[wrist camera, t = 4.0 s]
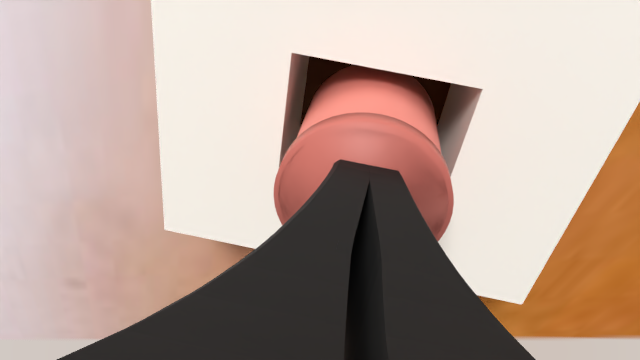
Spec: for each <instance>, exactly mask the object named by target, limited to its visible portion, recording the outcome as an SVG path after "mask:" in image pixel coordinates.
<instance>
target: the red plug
mask: <svg viewBox="0 0 640 360" xmlns="http://www.w3.org/2000/svg"><path fill="white" fill-rule="evenodd" d="M340 159H342V160H347V161H352V162H357V163H362V164H367V165H372V166H377V167H382V168H387V169H392V170H397V171H399V172H400V174H401V175H402V177H403V179H404V181H405V183H406V185H407V187H408V189H409V191H410V193H411V195H412V197H413V199H414V201H415V203H416V205H417V207H418V209H419V211H420V212H421V214H422V216H423V218H424V220H425V221H426V223H427V225H428V226H429V228H430V230H431V231H432V233H433V235H434V236H435V238H436V240H437V241H439V240H440V239H441V237H442V236H443V234H444V233H445V231H446V229H447V227H448V225H449V223H450V220H451V217H452V213H453V205H454V196H453V189H452V183H451V178H450V173H449V169H448V167H447V164H446V161H445V159H444V157H443V156H442V154H441V148H440V142H439V136H438V130H437V124H436V118H435V112H434V107H433V104H432V102H431V99H430V97H429V95H428V93H427V92H426V90H425V89H424V88H423V86H422V85H421V84H420V83H419V82H418V81H417V80H416V79H415V78H413V77H412V76H411V75H407V74H401V73H396V72H391V71H386V70H380V69H375V68H370V67H365V66H359V65H352V66H349V67H346V68H344V69H341V70H340V71H338V72H336V73H334V74H333V75H332V76H330V77H329V78H328V79H326V80H325V81H324V82H323V83H322V84H321V86H320V87H319V88H318V90H317V91H316V93H315V95H314V96H313V98H312V101H311V103H310V106H309V108H308V111H307V113H306V116H305V118H304V120H303V123H302V125H301V128H300V130H299V133H298V135H297V138H296V139H295V140H294V142H293V143H292V144H291V145H290V147H289V148H288V150H287V152H286V154H285V155H284V157H283V160H282V162H281V165H280V167H279V169H278V172H277V175H276V178H275V183H274V204H275V208H276V212H277V215H278V217H279V220H280V222H281V224H282V225H283V224H284V223H286V222H287V221H288V220H289V219H290V218H291V217H292V216H293V215H294V214H295V213H296V212H297V211H298V210H299V209H300V208H301V207H302V206H303V204H304V203H305V202H306V201H307V200H308V199H309V198H310V196H311V195H312V194H313V193H314V192H315V191H316V190H317V188H318V187H319V186H320V184H321V183H322V182H323V181H324V179H325V178H326V176H327V175H328V173H329V172H330V170H331V168H332V167H333V164H334V163H335V162H336V161H338V160H340Z"/></svg>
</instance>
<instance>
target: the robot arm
mask: <svg viewBox="0 0 640 360" xmlns="http://www.w3.org/2000/svg"><path fill="white" fill-rule="evenodd" d="M57 360H535V359H534V358H533V357H532V356H531V354H530V353H529V352H527V351H526V350H525V348H524V347H523V346H522V345H520V343H519V342H518V341H517V340H516V339H515V338H514V337H513V336H512V335H511V334H510V333H509V332H508V331H507V330H506V329H505V328H504V326H503V325H502V324H501V323H500V322H499V321H498V320H497V319H496V318H495V317H494V315H493V314H492V313H491V312H490V311H489V310H488V308H487V307H486V306H485V305H484V304H483V302H482V301H481V300H480V299H479V298H478V296H477V295H476V294H475V293H474V292H473V290H472V289H471V288H470V287H469V285H468V284H467V283H466V282H465V280H464V279H463V278H462V276H461V275H460V274H459V272H458V271H457V270H456V268H455V267H454V265H453V264H452V262H451V261H450V260H449V258H448V257H447V255H446V254H445V252H444V251H443V249H442V247H441V246H440V244H439V243H438V241H437V240H436V238H435V236H434V235H433V233H432V231H431V230H430V228H429V226H428V225H427V223H426V221H425V220H424V218H423V216H422V214H421V212H420V211H419V209H418V207H417V205H416V203H415V201H414V199H413V197H412V195H411V193H410V191H409V189H408V187H407V185H406V183H405V181H404V179H403V177H402V175H401V174H400V172H399V171H397V170H392V169H387V168H382V167H377V166H372V165H367V164H362V163H357V162H352V161H347V160H342V159H340V160H338V161H336V162H335V163H334V164H333V167H332V168H331V170H330V172H329V173H328V175H327V176H326V178H325V179H324V181H323V182H322V183H321V184H320V186H319V187H318V188H317V190H316V191H315V192H314V193H313V194H312V195H311V196H310V198H309V199H308V200H307V201H306V202H305V203H304V204H303V206H302V207H301V208H300V209H299V210H298V211H297V212H296V213H295V214H294V215H293V216H292V217H291V218H290V219H289V220H288V221H287V222H286V223H284V224H283V225H282V226H281V227H280V228H279V229H278V230H277V231H276V232H275V233H274V234H273V235H272V236H270V237H269V238H268V239H267V240H266V241H265V242H263V243H262V244H261V245H260V246H259V247H257V248H256V249H255V250H253V251H252V252H251V253H250V254H248V255H247V256H246V257H244V258H243V259H242V260H240V261H239V262H238V263H236V264H235V265H233V266H232V267H230V268H229V269H227V270H226V271H224V272H223V273H222V274H220V275H219V276H217V277H216V278H214V279H213V280H211V281H210V282H208V283H207V284H205V285H203V286H202V287H200V288H199V289H197V290H195V291H194V292H192V293H190V294H189V295H187V296H185V297H183V298H181V299H180V300H178V301H176V302H174V303H172V304H171V305H169V306H167V307H165V308H163V309H161V310H160V311H158V312H156V313H154V314H152V315H151V316H149V317H147V318H145V319H143V320H142V321H140V322H138V323H136V324H134V325H132V326H130V327H128V328H126V329H124V330H121V331H119V332H117V333H115V334H113V335H110V336H108V337H106V338H104V339H102V340H99V341H97V342H95V343H93V344H91V345H88V346H86V347H84V348H82V349H80V350H77V351H75V352H73V353H71V354H69V355H66V356H64V357H62V358H60V359H57Z"/></svg>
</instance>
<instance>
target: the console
mask: <svg viewBox="0 0 640 360" xmlns="http://www.w3.org/2000/svg"><path fill="white" fill-rule="evenodd" d="M151 11H152V27H153V44H154V61H155V78H156V94H157V111H158V128H159V145H160V161H161V178H162V195H163V212H164V228H165V230H168V231H173V232H178V233H182V234H187V235H192V236H197V237H201V238H206V239H211V240H216V241H221V242H225V243H230V244H235V245H240V246H244V247H249V248H254V249H256V248H257V247H259V246H260V245H261V244H262V243H263V242H265V241H266V240H267V239H268V238H269V237H270V236H272V235H273V234H274V233H275V232H276V231H277V230H278V229H279V228H280V227H281V226H282V224H281V222H280V220H279V217H278V215H277V212H276V208H275V204H274V183H275V178H276V175H277V172H278V169H279V167H280V165H281V162H282V160H283V157H284V155H285V154H286V152H287V150H288V148H289V147H290V145H291V144H292V143H293V142H294V140H295V139H296V138H297V135H298V133H299V130H300V123H301V115H302V108H303V101H304V93H305V86H306V78H307V71H308V63H309V56H312V57H317V58H323V59H328V60H333V61H338V62H344V63H349V64H354V65H359V66H365V67H370V68H375V69H380V70H386V71H391V72H396V73H401V74H407V75H412V76H417V77H422V78H427V79H433V80H438V81H443V82H448V83H451V86H450V89H449V92H448V95H447V98H446V101H445V104H444V107H443V110H442V113H441V117H440V120H439V123H438V126H437V130H438V136H439V142H440V148H441V154H442V156H443V157H444V159H445V161H446V164H447V167H448V169H449V173H450V178H451V183H452V189H453V196H454V205H453V213H452V217H451V220H450V223H449V225H448V227H447V229H446V231H445V233H444V234H443V236H442V237H441V239H440V240H439V241H438V243H439V244H440V246H441V247H442V249H443V251H444V252H445V254H446V255H447V257H448V258H449V260H450V261H451V262H452V264H453V265H454V267H455V268H456V270H457V271H458V272H459V274H460V275H461V276H462V278H463V279H464V280H465V282H466V283H467V284H468V285H469V287H470V288H471V289H472V290H473V292H474V293H475V294H476V295H479V296H483V297H488V298H493V299H498V300H503V301H507V302H512V303H517V304H522V303H523V302H524V300H525V298H526V297H527V295H528V293H529V291H530V290H531V288H532V286H533V285H534V283H535V281H536V279H537V278H538V276H539V274H540V272H541V271H542V269H543V267H544V266H545V264H546V262H547V260H548V259H549V257H550V255H551V253H552V252H553V250H554V248H555V247H556V245H557V243H558V241H559V240H560V238H561V236H562V234H563V233H564V231H565V229H566V228H567V226H568V224H569V222H570V221H571V219H572V217H573V216H574V214H575V212H576V210H577V209H578V207H579V205H580V203H581V202H582V200H583V198H584V197H585V195H586V193H587V191H588V190H589V188H590V186H591V184H592V183H593V181H594V179H595V178H596V176H597V174H598V172H599V171H600V169H601V167H602V165H603V164H604V162H605V160H606V159H607V157H608V155H609V153H610V152H611V150H612V148H613V147H614V145H615V143H616V141H617V140H618V138H619V136H620V134H621V133H622V131H623V129H624V128H625V126H626V124H627V122H628V121H629V119H630V117H631V115H632V114H633V112H634V110H635V109H636V107H637V105H638V103H639V102H640V0H151Z"/></svg>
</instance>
